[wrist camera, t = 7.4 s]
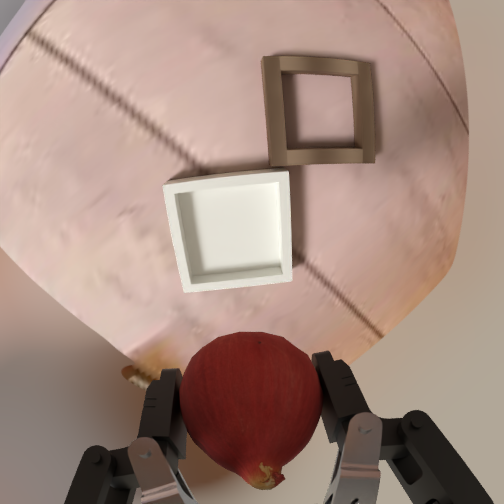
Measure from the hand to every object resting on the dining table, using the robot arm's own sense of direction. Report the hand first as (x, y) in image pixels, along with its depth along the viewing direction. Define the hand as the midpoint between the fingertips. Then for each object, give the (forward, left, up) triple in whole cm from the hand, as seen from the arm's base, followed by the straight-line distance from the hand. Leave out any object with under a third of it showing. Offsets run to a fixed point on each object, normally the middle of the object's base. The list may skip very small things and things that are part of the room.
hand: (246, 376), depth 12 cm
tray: (0, 0, -20) cm, 20 cm away
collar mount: (-10, -12, -20) cm, 25 cm away
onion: (0, 0, -3) cm, 3 cm away
